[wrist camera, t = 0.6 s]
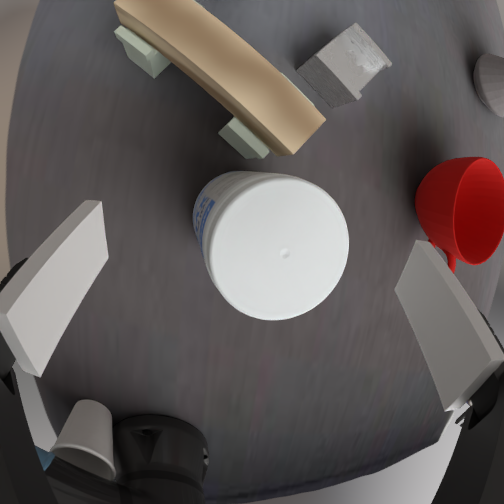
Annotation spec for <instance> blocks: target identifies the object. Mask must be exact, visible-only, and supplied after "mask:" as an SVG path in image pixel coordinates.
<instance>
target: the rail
mask: <svg viewBox="0 0 504 504" xmlns="http://www.w3.org/2000/svg"><path fill="white" fill-rule="evenodd" d="M114 6H115V9H116V12H117V14H118V17H119V20H120V23H121V24H123V25H124V26H125V27H127V28H128V29H129V30H131V31H132V32H133V33H135V34H136V35H137V36H139V37H140V38H141V39H143V40H144V41H145V42H147V43H148V44H149V45H151V46H152V47H153V48H154V49H156V50H157V51H158V52H160V53H161V54H162V55H163V56H165V57H166V58H167V59H168V60H170V61H171V62H172V63H173V64H175V65H176V66H177V67H178V68H179V69H181V70H182V71H183V72H184V73H185V74H187V75H188V76H189V77H190V78H191V79H193V80H194V81H195V82H196V83H197V84H199V85H200V86H201V87H202V88H203V89H204V90H206V91H207V92H208V93H209V94H210V95H211V96H212V97H214V98H215V99H216V100H217V101H218V102H219V103H220V104H222V105H223V106H224V107H225V108H226V109H227V110H228V111H229V112H230V113H232V114H233V115H234V116H235V117H236V118H237V119H238V120H239V121H240V122H241V123H242V124H244V125H245V126H246V127H247V128H248V129H249V130H250V131H251V132H252V133H253V134H254V135H255V136H256V137H257V138H258V139H259V140H261V141H262V142H263V143H264V144H265V145H266V146H267V147H268V148H269V149H270V150H271V151H272V152H273V153H274V154H275V155H276V156H285V155H293V154H294V153H295V152H296V151H297V150H298V149H299V148H300V147H301V146H302V145H303V144H304V143H305V142H306V140H307V139H308V138H309V137H310V136H311V135H312V134H313V133H314V132H315V131H316V130H317V129H318V128H319V127H320V126H321V125H322V123H323V122H324V121H325V120H326V119H325V118H324V117H323V116H322V114H321V113H320V112H319V111H318V110H317V109H316V108H315V107H314V106H313V105H312V104H311V103H310V102H309V101H308V100H307V99H306V98H305V97H304V96H303V95H302V94H301V93H300V92H299V91H298V90H297V89H296V88H295V87H294V86H293V85H292V84H291V83H290V82H289V81H288V80H287V79H286V78H285V77H284V76H283V75H282V74H281V73H280V72H279V71H278V70H277V69H276V68H275V67H274V66H272V65H271V64H270V63H269V62H268V61H267V60H266V59H265V58H264V57H263V56H261V55H260V54H259V53H258V52H257V51H256V50H255V49H254V48H252V47H251V46H250V45H249V44H248V43H247V42H245V41H244V40H243V39H242V38H241V37H239V36H238V35H237V34H236V33H235V32H233V31H232V30H231V29H230V28H228V27H227V26H226V25H225V24H223V23H222V22H221V21H220V20H218V19H217V18H216V17H215V16H213V15H212V14H211V13H209V12H208V11H207V10H205V9H204V8H203V7H201V6H200V5H199V4H197V3H196V2H194V1H193V0H116V1H115V2H114Z"/></svg>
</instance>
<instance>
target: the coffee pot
mask: <svg viewBox="0 0 504 504" xmlns="http://www.w3.org/2000/svg"><path fill="white" fill-rule="evenodd" d="M473 77H474V84H475V88H476V91H477V93H478V96H479V98H480V99H481V101H482V102H483V103H484V104H485V105H486V106H487V107H488V108H489V110H490V111H491V112H493V113H494V114H496V115H498V116H500V117H504V58H502V57H499V56H495V55H492V54H483V55H482V56H481V57H480V58H479V59H478V60H477V63H476V65H475V69H474V74H473Z"/></svg>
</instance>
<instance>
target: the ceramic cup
mask: <svg viewBox="0 0 504 504" xmlns="http://www.w3.org/2000/svg"><path fill="white" fill-rule="evenodd" d="M415 209H416V213H417V216H418V219H419V222H420V224H421V227H422V228H423V230H424V232H425V233H426V235H427V236H428V237H429V240H428V242H430V243H431V244H432V246H433V247H434V248H435V245H436V246H437V247H439V248H440V249H442V250H443V252H444V253H445V254H446V256H447V260H448V267H449V268H450V270H451V271H452V273H453V274H454V271H455V266H456V258H457V259H459V260H461V261H463V262H465V263H467V264H471V265H478V264H481V263H483V262H485V261H486V260H487V259H489V258H490V257H491V255H492V254H493V253H494V252H495V250H496V248H497V247H498V245H499V243H500V241H501V238H502V236H503V233H504V178H503V176H502V173H501V172H500V170H499V168H498V167H497V166H496V165H495V163H494V162H492V161H491V160H489V159H487V158H483V157H464V158H456V159H451V160H447V161H445V162H443V163H441V164H439V165H437V166H435V167H434V168H433V169H432V170H430V171H429V172H428V173H427V175H426V176H425V177H424V179H423V180H422V182H421V183H420V185H419V187H418V188H417V191H416V195H415Z"/></svg>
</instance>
